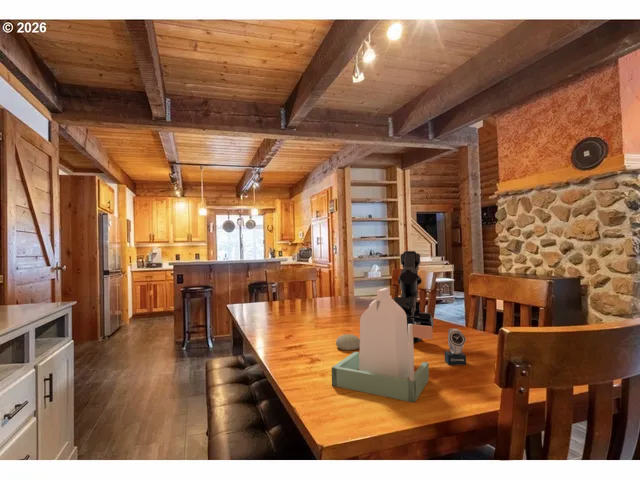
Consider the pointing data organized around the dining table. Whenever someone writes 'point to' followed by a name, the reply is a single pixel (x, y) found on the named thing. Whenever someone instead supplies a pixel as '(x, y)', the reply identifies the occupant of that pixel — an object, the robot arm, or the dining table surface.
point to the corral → (385, 385)
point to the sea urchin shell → (348, 342)
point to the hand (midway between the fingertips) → (399, 340)
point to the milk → (384, 338)
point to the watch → (455, 348)
